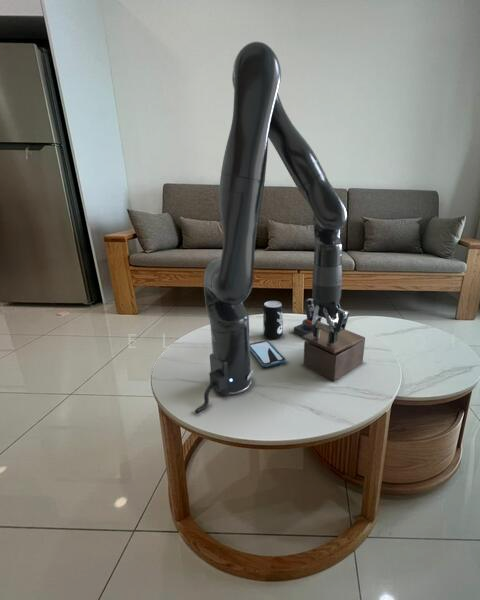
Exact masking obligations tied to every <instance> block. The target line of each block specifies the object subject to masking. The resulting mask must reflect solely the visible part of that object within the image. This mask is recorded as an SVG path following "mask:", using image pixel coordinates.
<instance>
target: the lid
mask: <svg viewBox="0 0 480 600" xmlns="http://www.w3.org/2000/svg"><path fill="white" fill-rule="evenodd" d="M316 328H317V336H316V337H314V336H313V333H310V334H307V335H304V336H301V339H302V340H303V341H308V342H311V343H313V344H315V345H317V346H319V347H321V348H323V349H325V350H328V351H330V352H332V353H334V354H335V353H337V352H339V351H341V350H344V349H346V348H348V347H350V346H352V345H355V344H357V343H359V342H361V341H364V340H365V341H366V337H365V336H363V335H360V334H358V333H355V332H352V331H350V330H348V329H346V328H345V329H344V330H342V331H340V332H338V339H337V341H336V342H335V343H334V344H330V343H329V334H330V327H329V324H327V323H324V322H322V321H321V322H319V321H318V322H317V323H316ZM320 330H321V332H320Z"/></svg>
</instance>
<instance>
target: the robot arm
mask: <svg viewBox="0 0 480 600" xmlns="http://www.w3.org/2000/svg"><path fill="white" fill-rule="evenodd" d="M231 80H232V81H231V82H232V88H233V109H232V120H231V125H230V130H229V134H228V138H227V142H226V145H225V148H224V149H225V150H224V155H223V160H222V165H221V170H220V178H219V186H218V209H219V216H220V223H221V228H222V237H223V238H222V239H223V240H222V241H223V243H222V250H221V251H222V252H221V257H218V258H215V259H214V260H212V261H211V262H209V264H207V266H206V267H205V270H204V273H203V280H202V282H203V294H204V302H205V310H206V314H207V317H208V319H209V326H210V335H211V336H210V338H211V348H212V350H211V351H212V353H209V366H210V372H209V373H208V375H209V385H208V387H206V389H205V391H204V394H203V400H204V401H203V404H202V405H200V406H199V407H197V408H195V410H194V412H195V413H196V414H199V413H201V412H203V411H204V410H205V409H206V408H207V407H208V405H209V401H210V399H209V396H210V392H211V391H212V389H213V388H214V390H216V391H217V392H218V393H220V394H221V395H222V396H223V397H228V396H234V395H239V394H243V392H246V391H247V390H249V389H250V387H251V386H252V375H253V373H254V370H253V369H254V368H253V369H252V367H251V351H250V343H251V342H250V340H251V339H250V316H249V313H248V311H247V308H246V307H245V305H244V301H246V299H248V297H249V295H250V294H251V292H252V290H253V285H254V275H255V253H256V241H257V234H258V228H259V220H260V215H261V207H262V202H263V196H264V189H265V183H266V174H267V173H266V172H267V163H268V151H269V150H268V149H269V141H270V143H271V145H272V146H273V147H274V150H275V151H276V152H277V154H278V156H279V158H280V160H281V161H282V163H283V166H284V167H285V168H286V171H287V172H288V174H289V176H290V178H291V180H292V182H293V183H294V184H295V186H296V188H297V190H298V191H299V193H300V195H302V197H303V198H304V199H305V200H306V202H307V203H308V205H309V207H310V209H311V211H312V213H313V216H312V222H313V225H312V226H313V236H314V251H313V268H312V285H311V298H307V299H305V300H304V308H305V314H306V319H307V320H308V321H311V322H312V324H313V336H314V337H316V336H317V328H316V323H317V322H318V321H319V322H322V320H323V319H324V320H325V322H326V324H327V325H329V327H330V334H329V343H330V344H334V343H335V342H336V341H337V339H338V332H340V331H342V330H344V329H345V330H346V326H347V324H348V323H347V322H348V319H349V316H350V311H349V310H347V309H346V310H344V309H343V308H341V305H340V300H341V298H342V287H343V285H342V284H343V244H342V241H341V230H342V229H343V228H344V227H345V225H346V224H347V221H348V212H347V208H346V207H345V204H344V202H343V200H342V199H341V198H340V196H339V194H338V193H337V191H336V190H335V188H334V187H333V185H332V184H331V182H330V181H329V179H328V177H327V174H326V172H325V171H324V169H323V167H322V165H321V163H320V161H319V159H318V157H317V155H316V154H315V152H314V150H313V148H312V147H311V145H310V144H309V143H308V141H307V140H306V139H305V138H304V136H303V135H302V134H301V133H300V131H299V130H298V129H297V127H296V126H295V125H294V124H293V122H292V121H291V119H290V118H289V116H288V114H287V112H286V110H285V108H284V106H283V103H282V101H281V97H280V95H279V88H280V85H281V81H282V68H281V63H280V61H279V58H278V57H277V54H276V53H275V51H274V50H273V49H272V48H271V46H269V45H268V44H267V43H265V42H263V41H251V42H249V43H247V44H245V45H244V46H243V47H242V48H241V49H240V50H239V52H238V53H237V54H236V57H235V59H234V62H233V68H232V75H231ZM322 318H323V319H322ZM320 332H321V330H320Z"/></svg>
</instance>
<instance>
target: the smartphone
mask: <svg viewBox="0 0 480 600" xmlns="http://www.w3.org/2000/svg"><path fill="white" fill-rule="evenodd" d="M250 353H251V354H252V355H253V356H254V358H255V359H256V360H257V361H258V363H259V364H260V365H261V366H262V367H263V368H269V367H274V366H277V365H280V364H284V363H286V361H287V360H286V357H285V356H284V355H283V354H282V353H281V352H280V351H279V350H278V349H277V348H276V347H275V346H274V345H273V344H272V343H271V342H270V341H269V340H268V339H267V340H260V341H256V342H250Z"/></svg>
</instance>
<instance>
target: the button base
mask: <svg viewBox="0 0 480 600" xmlns="http://www.w3.org/2000/svg"><path fill="white" fill-rule="evenodd" d="M293 333H294V334H296V335H298V336H300V337H302V336H304V335H307V334H310V333H313V325H311V324H307V318H305V319H303V320H302V323H300V324H298V325H296V326H294V327H293Z"/></svg>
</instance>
